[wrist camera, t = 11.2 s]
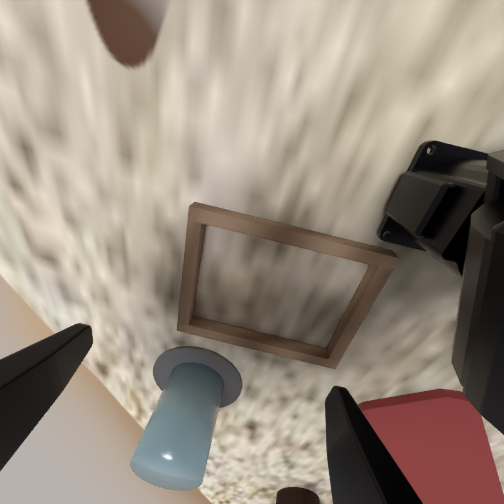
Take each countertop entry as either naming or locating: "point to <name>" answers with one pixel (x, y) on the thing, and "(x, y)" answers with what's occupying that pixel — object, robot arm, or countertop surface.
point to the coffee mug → (296, 496)
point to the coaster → (202, 356)
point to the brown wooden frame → (319, 242)
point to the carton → (438, 446)
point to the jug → (180, 429)
